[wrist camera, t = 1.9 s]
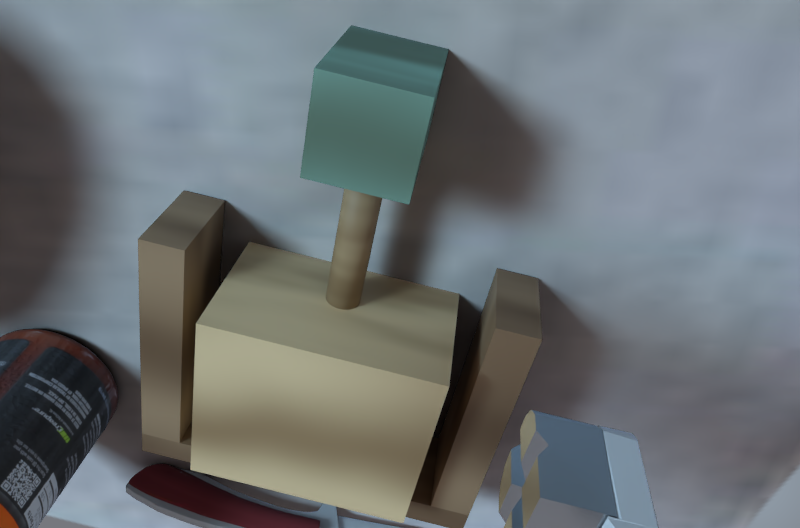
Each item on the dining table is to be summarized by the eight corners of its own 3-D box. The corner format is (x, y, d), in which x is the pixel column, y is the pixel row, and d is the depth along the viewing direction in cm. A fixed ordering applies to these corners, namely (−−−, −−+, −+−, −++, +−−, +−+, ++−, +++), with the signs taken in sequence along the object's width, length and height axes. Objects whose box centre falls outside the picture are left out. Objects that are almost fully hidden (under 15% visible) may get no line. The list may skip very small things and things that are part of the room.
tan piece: (183, 190, 24) (138, 239, 21) (538, 278, 23) (542, 339, 21) (179, 389, 29) (142, 450, 26) (466, 461, 29) (461, 530, 26)
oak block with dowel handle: (270, 5, 20) (206, 48, 16) (530, 69, 20) (536, 130, 16) (237, 377, 28) (190, 469, 24) (418, 422, 28) (403, 523, 24)
